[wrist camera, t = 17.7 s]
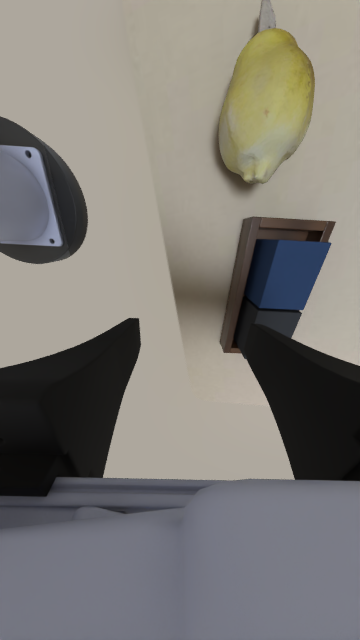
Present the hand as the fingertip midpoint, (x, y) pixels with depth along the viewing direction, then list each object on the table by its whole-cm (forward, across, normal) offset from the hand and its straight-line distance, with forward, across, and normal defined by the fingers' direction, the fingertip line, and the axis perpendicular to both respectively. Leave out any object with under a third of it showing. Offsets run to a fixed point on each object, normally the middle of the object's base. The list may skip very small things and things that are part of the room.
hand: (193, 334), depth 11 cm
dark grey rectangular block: (+10, -9, +4) cm, 14 cm away
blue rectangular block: (+10, -9, -3) cm, 14 cm away
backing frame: (+10, -9, 0) cm, 14 cm away
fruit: (+11, -4, -14) cm, 18 cm away
